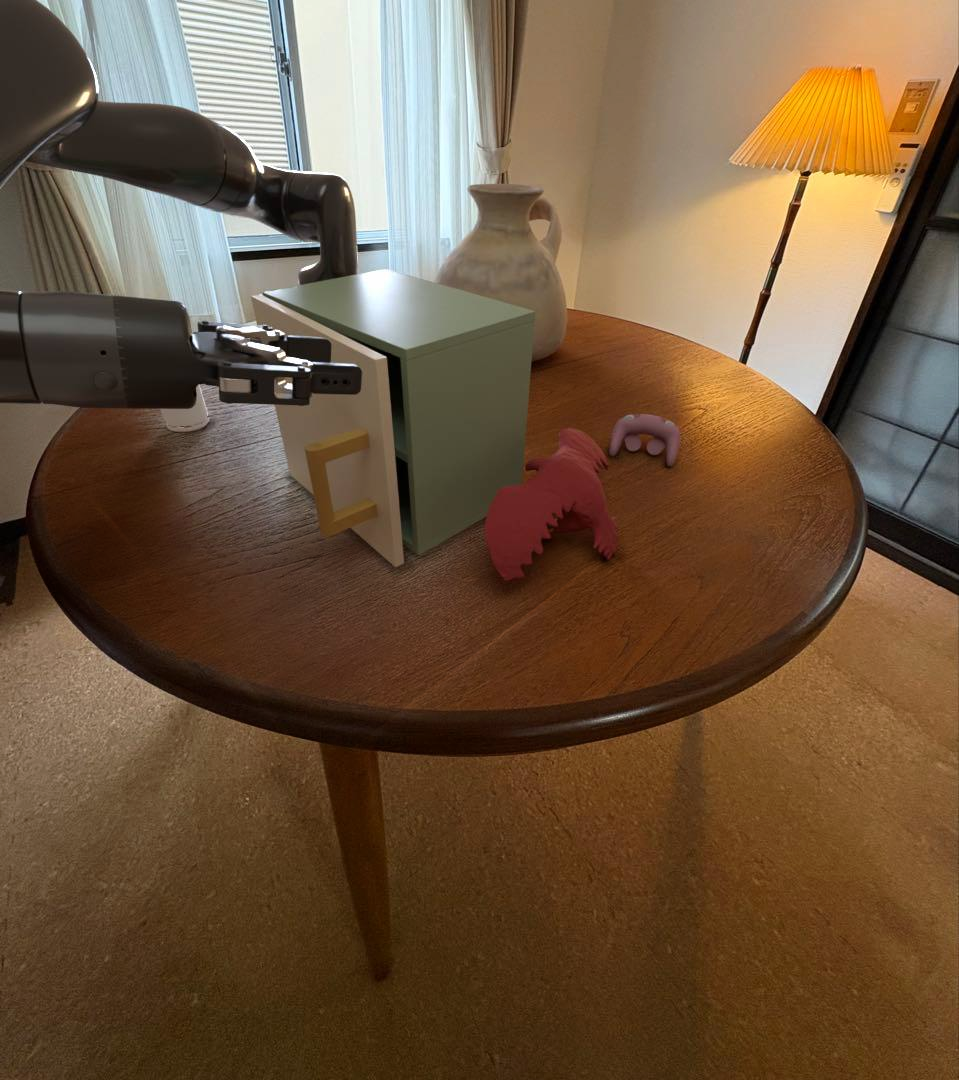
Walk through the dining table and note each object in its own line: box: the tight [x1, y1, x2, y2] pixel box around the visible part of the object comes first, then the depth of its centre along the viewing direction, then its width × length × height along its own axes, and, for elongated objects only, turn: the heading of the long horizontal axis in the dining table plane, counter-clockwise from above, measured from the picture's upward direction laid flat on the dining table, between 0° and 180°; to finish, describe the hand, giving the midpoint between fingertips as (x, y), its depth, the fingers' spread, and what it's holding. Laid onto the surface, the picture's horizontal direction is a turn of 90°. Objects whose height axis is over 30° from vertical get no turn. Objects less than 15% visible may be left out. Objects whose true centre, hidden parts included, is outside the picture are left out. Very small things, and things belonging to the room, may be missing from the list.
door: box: [250, 293, 405, 568], centre depth 62 cm, size 8×26×24 cm, turn 41°
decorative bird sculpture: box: [483, 427, 621, 581], centre depth 65 cm, size 28×9×15 cm
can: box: [159, 384, 210, 434], centre depth 86 cm, size 6×6×12 cm
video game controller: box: [608, 413, 681, 467], centre depth 84 cm, size 10×5×7 cm, turn 71°
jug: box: [433, 183, 568, 363], centre depth 111 cm, size 29×34×30 cm
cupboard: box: [261, 268, 535, 556], centre depth 70 cm, size 18×26×24 cm
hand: (344, 364), depth 47 cm, fingers open, 8 cm apart
